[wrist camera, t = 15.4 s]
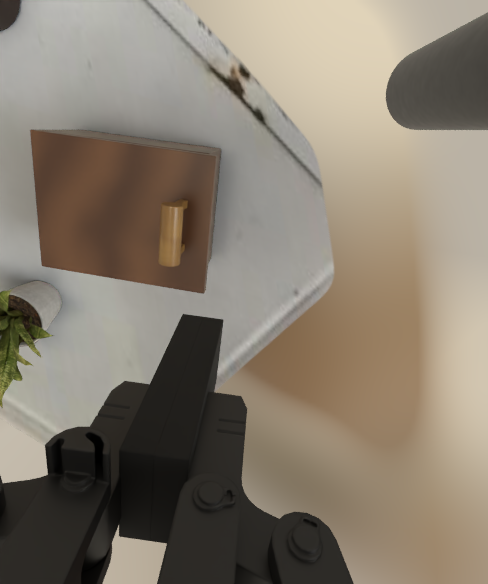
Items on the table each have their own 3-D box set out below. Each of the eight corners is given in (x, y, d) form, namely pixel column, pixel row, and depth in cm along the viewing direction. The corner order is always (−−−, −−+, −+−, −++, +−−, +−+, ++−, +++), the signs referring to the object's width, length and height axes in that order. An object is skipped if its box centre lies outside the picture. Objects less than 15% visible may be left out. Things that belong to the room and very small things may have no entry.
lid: (218, 155, 33) (204, 159, 28) (205, 290, 38) (192, 312, 33) (35, 129, 34) (-7, 128, 30) (46, 263, 39) (11, 281, 35)
